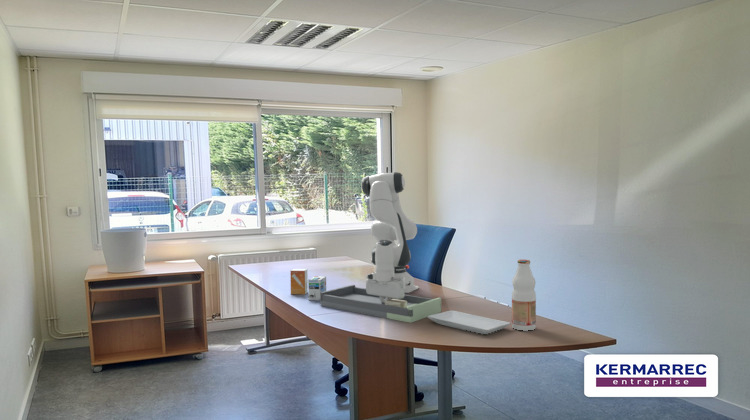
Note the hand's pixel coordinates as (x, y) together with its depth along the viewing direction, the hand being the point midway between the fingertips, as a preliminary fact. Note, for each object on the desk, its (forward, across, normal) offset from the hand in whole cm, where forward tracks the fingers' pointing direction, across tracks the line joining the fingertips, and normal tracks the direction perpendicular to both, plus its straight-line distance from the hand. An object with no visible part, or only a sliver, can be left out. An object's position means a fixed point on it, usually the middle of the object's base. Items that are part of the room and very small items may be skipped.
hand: (385, 306), depth 256 cm
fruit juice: (+4, -61, -14) cm, 63 cm away
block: (+1, -6, 0) cm, 6 cm away
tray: (+4, -41, -3) cm, 42 cm away
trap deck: (+3, +8, -5) cm, 10 cm away
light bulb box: (+4, +48, -4) cm, 48 cm away
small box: (+4, +65, -7) cm, 65 cm away
